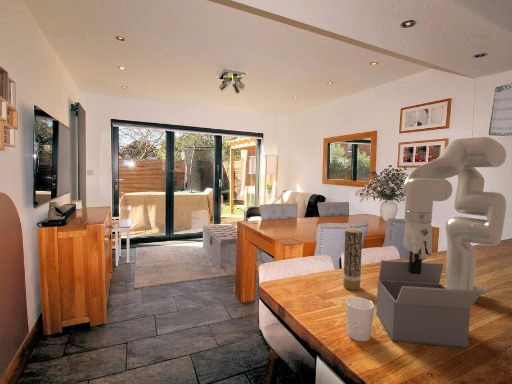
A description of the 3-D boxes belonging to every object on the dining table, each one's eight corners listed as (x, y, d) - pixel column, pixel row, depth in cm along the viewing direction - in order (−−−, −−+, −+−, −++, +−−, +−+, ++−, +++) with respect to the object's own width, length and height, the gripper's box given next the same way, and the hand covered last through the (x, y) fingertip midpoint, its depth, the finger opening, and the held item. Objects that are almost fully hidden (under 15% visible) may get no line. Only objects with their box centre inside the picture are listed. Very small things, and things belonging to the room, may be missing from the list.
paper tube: (361, 291, 115) (363, 231, 113) (344, 289, 117) (346, 230, 115) (358, 284, 122) (360, 228, 120) (342, 283, 123) (344, 227, 121)
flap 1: (379, 280, 96) (378, 279, 97) (439, 283, 94) (438, 282, 94) (381, 261, 94) (381, 260, 94) (443, 264, 91) (442, 263, 92)
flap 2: (468, 306, 78) (469, 308, 77) (395, 301, 80) (396, 303, 80) (480, 290, 73) (481, 292, 73) (402, 285, 76) (403, 287, 75)
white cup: (340, 328, 88) (341, 297, 87) (364, 327, 89) (366, 296, 88) (351, 343, 80) (352, 309, 79) (377, 342, 81) (379, 309, 80)
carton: (438, 318, 94) (440, 284, 93) (467, 348, 79) (470, 306, 78) (376, 314, 97) (377, 280, 96) (392, 341, 81) (394, 301, 80)
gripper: (443, 221, 82) (439, 282, 83) (419, 214, 96) (416, 266, 97) (416, 220, 82) (412, 281, 84) (396, 213, 97) (393, 265, 98)
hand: (414, 273), depth 90 cm, fingers closed
